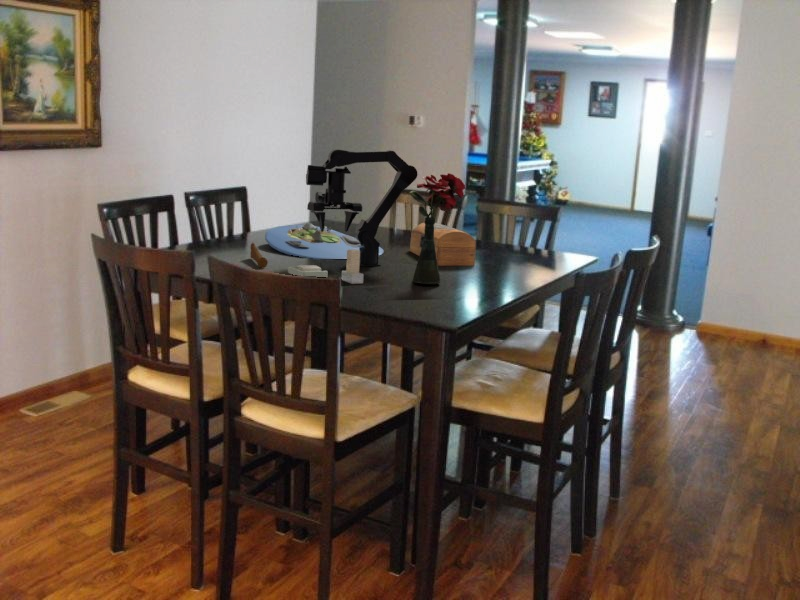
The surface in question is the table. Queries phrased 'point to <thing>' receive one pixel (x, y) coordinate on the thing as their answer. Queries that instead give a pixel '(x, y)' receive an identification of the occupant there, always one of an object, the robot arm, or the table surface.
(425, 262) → the carnation
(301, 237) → the serving platter
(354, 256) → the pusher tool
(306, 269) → the tile
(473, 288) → the table surface
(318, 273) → the bay
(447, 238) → the wooden box
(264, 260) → the primitive tool
